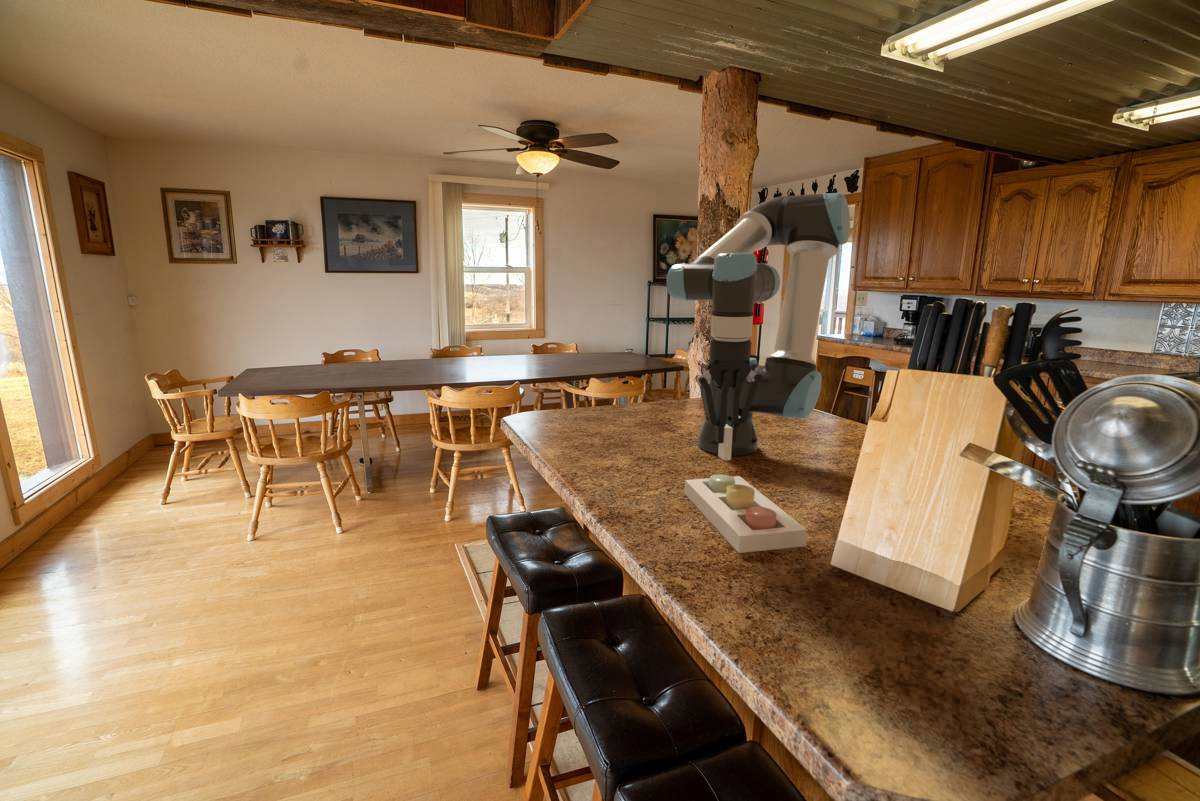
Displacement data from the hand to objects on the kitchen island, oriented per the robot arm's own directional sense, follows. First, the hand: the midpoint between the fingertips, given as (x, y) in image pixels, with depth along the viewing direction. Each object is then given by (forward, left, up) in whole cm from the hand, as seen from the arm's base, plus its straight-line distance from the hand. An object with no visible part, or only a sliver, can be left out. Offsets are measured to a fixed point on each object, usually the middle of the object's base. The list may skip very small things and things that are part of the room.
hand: (724, 457), depth 109 cm
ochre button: (0, +8, -6) cm, 10 cm away
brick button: (0, +16, -7) cm, 18 cm away
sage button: (0, 0, -7) cm, 7 cm away
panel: (0, +8, -9) cm, 12 cm away
